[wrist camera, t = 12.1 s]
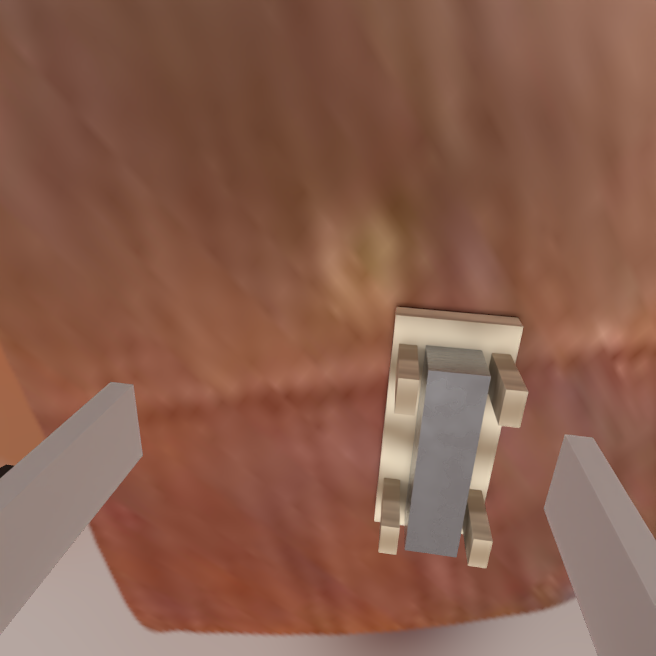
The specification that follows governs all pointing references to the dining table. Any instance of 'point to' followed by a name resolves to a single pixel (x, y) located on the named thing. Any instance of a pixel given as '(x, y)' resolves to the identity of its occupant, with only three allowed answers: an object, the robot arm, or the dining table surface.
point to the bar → (444, 447)
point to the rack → (402, 405)
